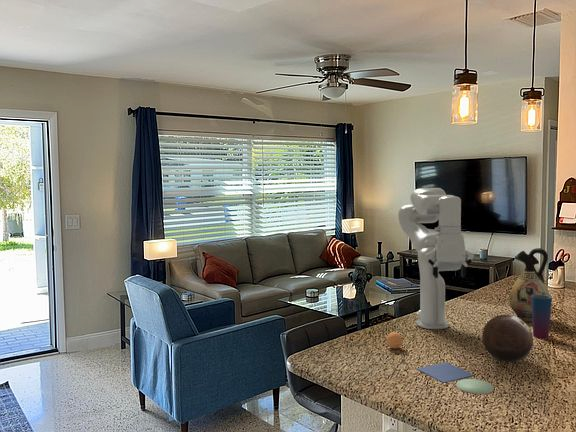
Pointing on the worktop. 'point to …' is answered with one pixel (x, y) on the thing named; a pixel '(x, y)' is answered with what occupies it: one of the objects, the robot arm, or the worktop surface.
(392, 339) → the egg
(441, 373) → the blue square tile
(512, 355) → the wooden sphere
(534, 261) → the ceramic jug
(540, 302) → the cup
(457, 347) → the worktop surface
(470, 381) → the far disc
